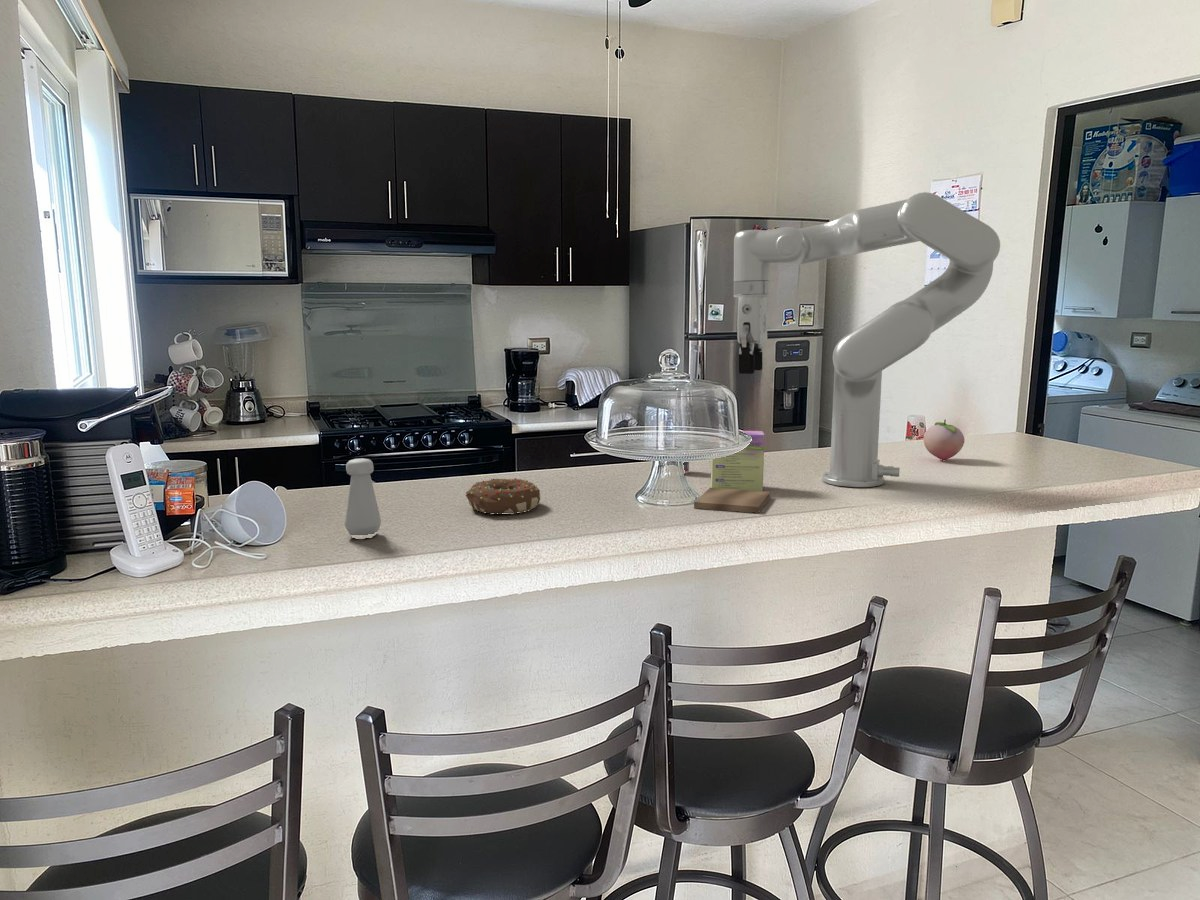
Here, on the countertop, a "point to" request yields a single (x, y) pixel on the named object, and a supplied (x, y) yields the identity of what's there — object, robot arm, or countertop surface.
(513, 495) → the donut
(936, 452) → the decorative fruit
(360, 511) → the salt shaker
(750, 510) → the board
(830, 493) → the countertop surface
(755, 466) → the box
